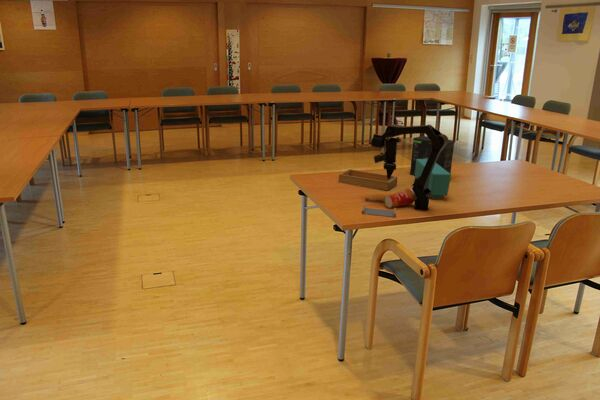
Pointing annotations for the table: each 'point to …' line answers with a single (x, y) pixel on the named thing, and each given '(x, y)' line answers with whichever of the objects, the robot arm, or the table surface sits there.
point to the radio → (435, 179)
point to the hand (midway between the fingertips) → (388, 178)
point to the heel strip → (374, 200)
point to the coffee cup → (400, 198)
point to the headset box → (424, 149)
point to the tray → (367, 179)
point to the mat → (379, 212)
